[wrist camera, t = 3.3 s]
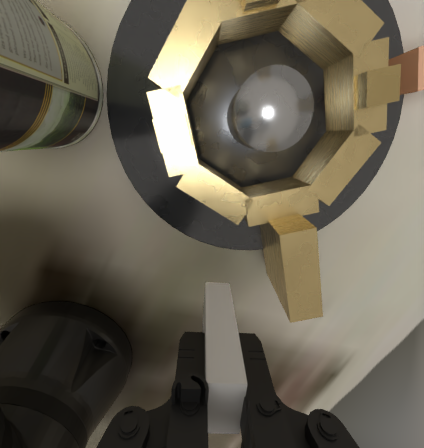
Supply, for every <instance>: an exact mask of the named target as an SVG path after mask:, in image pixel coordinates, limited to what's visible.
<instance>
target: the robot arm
mask: <svg viewBox="0 0 424 448" xmlns="http://www.w3.org/2000/svg"><path fill="white" fill-rule="evenodd" d="M131 363H132V351H131V346H130V343H129V341H128V339H127V337H126V335H125V334H124V332H123V331H122V330H121V329H120V327H119V326H118V325H117V324H116V323H115V322H114V321H112V320H111V319H110V318H108V317H107V316H105V315H104V314H102V313H101V312H99V311H97V310H94V309H92V308H90V307H87V306H84V305H80V304H76V303H71V302H57V301H55V302H44V303H39V304H35V305H32V306H30V307H27V308H25V309H23V310H22V311H20V312H18V313H17V314H16V315H15V316H14V317H12V318H11V319H10V320H9V321H8V322H7V323H6V324H5V325H4V326H3V327H2V328H1V329H0V448H85V447H86V445H87V442H88V439H89V438H90V436H91V434H92V433H93V431H94V430H95V429H96V427H97V426H98V424H99V423H100V421H101V420H102V418H103V417H104V416H105V414H106V413H107V411H108V410H109V408H110V407H111V406H112V404H113V403H114V401H115V400H116V398H117V397H118V395H119V394H120V393H121V391H122V389H123V387H124V385H125V383H126V380H127V377H128V373H129V370H130V367H131ZM240 426H241V434H242V443H241V448H359V446H358V445H357V444H356V442H355V441H354V439H353V438H352V437H351V435H350V434H349V432H348V431H347V430H346V428H345V426H344V425H343V424H342V423H341V421H340V420H339V419H338V418H337V417H336V416H335V415H333V414H332V413H330V412H328V411H326V410H323V409H315V410H313V411H312V412H310V414H309V415H307V414H304V413H301V412H298V411H295V410H293V409H291V408H289V407H287V406H286V405H285V404H283V403H282V401H281V400H280V399H279V398H278V396H277V395H276V393H275V390H274V387H273V383H272V380H271V376H270V373H269V369H268V365H267V362H266V358H265V355H264V351H263V347H262V344H261V341H260V340H259V339H258V337H257V336H256V335H255V334H249V333H238V327H237V321H236V316H235V310H234V304H233V299H232V293H231V287H230V283H217V282H205V294H204V307H203V332H185V333H184V334H183V336H182V337H181V339H180V343H179V352H178V360H177V369H176V377H175V381H174V383H173V386H172V396H171V398H170V399H169V400H168V401H167V402H166V403H165V404H164V405H162V406H160V407H158V408H156V409H153V410H150V411H147V412H146V411H145V410H144V409H142V408H140V407H136V406H131V407H127V408H124V409H123V410H121V411H120V412H119V413H117V414H116V415H115V417H114V418H113V419H112V421H111V422H110V424H109V426H108V428H107V429H106V431H105V433H104V435H103V437H102V439H101V440H100V442H99V444H98V446H97V448H208V433H224V434H239V432H240Z"/></svg>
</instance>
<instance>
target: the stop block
mask: <svg viewBox="0 0 424 448" xmlns="http://www.w3.org/2000/svg"><path fill="white" fill-rule="evenodd" d="M397 64H401V78H400V95H402V94H407V93H412V92H417V91H421V90H424V46H421V47H418V48H416V49H413V50H411V51H408V52H406V53H403V54H401V55H399V56H396V57H394V58H391V59H389V61H388V66H392V65H397Z"/></svg>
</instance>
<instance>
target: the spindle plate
mask: <svg viewBox="0 0 424 448" xmlns="http://www.w3.org/2000/svg"><path fill="white" fill-rule="evenodd" d="M186 1H187V0H131V2H130V4H129V6H128V8H127V10H126V12H125V14H124V16H123V18H122V21H121V23H120V25H119V28H118V31H117V35H116V38H115V41H114V44H113V47H112V52H111V58H110V63H109V68H108V81H107V106H108V117H109V123H110V129H111V134H112V138H113V141H114V144H115V148H116V151H117V154H118V157H119V159H120V161H121V163H122V166H123V168H124V170H125V173H126V174H127V176H128V178H129V179H130V181H131V183H132V184H133V186H134V188H135V189H136V191H137V192H138V193H139V194H140V196H141V197H142V198H143V200H144V201H145V202H146V203H147V204H148V205H149V207H150V208H151V209H152V210H153V211H154V212H155V213H156V214H157V215H158V216H160V217H161V218H162V219H163V220H165V221H166V222H167V223H168V224H170V225H171V226H172V227H174V228H176V229H177V230H179V231H181V232H182V233H184V234H185V235H187V236H190V237H192V238H194V239H196V240H199V241H201V242H204V243H207V244H210V245H214V246H217V247H222V248H228V249H237V250H258V249H263V245H262V238H261V231H260V225H256V226H251V227H248V225H247V223H246V221H245V219H244V218H243V219H242V220H241V222H240V223H239V225H237V224H235V223H234V222H232V221H230V220H229V219H227V218H226V217H224V216H222V215H221V214H219V213H217V212H216V211H214V210H213V209H211V208H209V207H208V206H206V205H205V204H203V203H201V202H200V201H198V200H197V199H195V198H193V197H192V196H190V195H188V194H187V193H185V192H184V191H182V190H180V189H179V188H177V187H176V186H177V184H178V182H179V180H180V178H181V176H182V175H183V174H181V175H176V176H172V177H169V175H168V172H167V168H166V164H165V160H164V156H163V153H161V151H160V147H159V143H158V140H157V136H156V132H155V129H154V125H153V121H152V119H153V115H152V111H151V108H150V104H149V100H148V96H147V93H146V92H150V91H154V90H159V89H158V88H157V87H156V86H155V85H154V84H153V83H152V82H151V81H150V79H149V78H148V76H149V74H150V72H151V70H152V68H153V66H154V64H155V62H156V60H157V58H158V56H159V54H160V52H161V50H162V48H163V46H164V44H165V42H166V40H167V38H168V36H169V34H170V32H171V30H172V29H173V27H174V25H175V23H176V21H177V19H178V17H179V15H180V13H181V11H182V9H183V7H184V5H185V3H186ZM362 1H363V2H364V3H365V4H366V5H367V6H368V7H369V8H370V9H371V10H372V11H373V12H374V13H375V14H376V15H377V16H378V17H379V18H380V19H381V20H382V21H383V22H384V24H383V26H382V27H381V28H380V30H379V31H378V33H377V34H376V35H375V37H374V38H373V39H372V41H373V40H377V39H382V38H386V37H389V59H391V58H394V57H396V56H399V55H401V54H403V47H402V41H401V35H400V31H399V28H398V25H397V21H396V18H395V15H394V12H393V9H392V7H391V5H390V3H389V1H388V0H362ZM403 97H404V94H402V95H400V100H399V101H396V102H391V103H387V127H386V130H384V131H379V132H374V133H371V134H372V135H373V136H374V137H376V138H377V139H378V140H379V141H380V142H381V144H380V145H379V146H378V147H377V149H376V150H375V151H374V152H373V154H372V155H371V156H370V157H369V158H368V160H367V161H366V162H365V163H364V164H363V166H362V167H361V168H360V169H359V171H358V172H357V173H356V174H355V175H354V177H353V178H352V179H351V180H350V181H349V183H348V184H347V185H346V186H345V188H344V189H343V190H342V191H341V192H340V194H339V195H338V196H337V197H336V199H335V200H334V201H333V202H332V203H331V205H330V206H328V205H326V204H324V203H322V202H321V201H319V200H318V201H319V212H318V213H313V214H308V215H304V216H303V217H304V218H305V219H306V220H308V221H309V222H310V223H311V224H313V225H314V226H315V227H316V228H317V231H318V230H320V229H322V228H323V227H325V226H327V225H328V224H329V223H331V222H332V221H333V220H335V219H336V218H338V217H339V216H340V215H341V214H342V213H343V212H345V211H346V210H347V209H348V208H349V207H350V206H351V205H352V204H353V203H354V202H355V201H356V200H357V199H358V197H359V196H360V195H361V194H362V193H363V192H364V191H365V189H366V188H367V187H368V185H369V184H370V182H371V181H372V180H373V178H374V177H375V175H376V174H377V172H378V170H379V168H380V167H381V165H382V163H383V161H384V159H385V158H386V155H387V153H388V151H389V148H390V146H391V144H392V141H393V139H394V136H395V132H396V129H397V126H398V123H399V119H400V114H401V109H402V103H403ZM186 103H187V107H188V112H189V116H190V121H191V125H192V130H193V135H194V139H195V144H196V148H197V153H198V157H199V159H200V160H201V161H203V162H204V163H206V164H207V165H209V166H210V167H212V168H213V169H215V170H216V171H218V172H219V173H221V174H222V175H224V176H225V177H227V178H228V179H230V180H231V181H233V182H234V183H236V184H237V185H239V186H240V187H246V186H250V185H255V184H260V183H264V182H269V181H274V180H279V179H283V178H288V177H292V176H293V175H294V173H295V172H296V171H297V169H298V168H299V167H300V165H301V164H302V163H303V161H304V160H305V159H306V157H307V156H308V155H309V153H310V152H311V151H312V149H313V148H314V147H315V145H316V144H317V143H318V141H319V140H320V139H321V137H322V136H323V135H324V133H325V132H326V118H325V97H324V76H323V69H322V68H320V67H319V66H318V65H317V64H316V63H315V62H313V61H312V60H311V59H310V58H309V57H308V56H306V55H305V54H304V53H303V52H302V51H301V50H300V49H298V48H297V47H296V46H295V45H294V44H293V43H291V42H290V41H289V40H288V39H287V38H286V37H284V36H283V35H282V34H281V33H280V32H279V31H275V32H271V33H267V34H262V35H258V36H254V37H250V38H245V39H241V40H237V41H232V42H228V43H224V44H219V45H217V47H216V49H215V51H214V52H213V54H212V56H211V58H210V60H209V61H208V63H207V65H206V67H205V68H204V70H203V72H202V74H201V75H200V77H199V79H198V81H197V83H196V84H195V86H194V88H193V90H192V91H191V93H190V95H189V97H188V99H187V100H186Z"/></svg>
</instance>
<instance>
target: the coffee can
mask: <svg viewBox="0 0 424 448" xmlns="http://www.w3.org/2000/svg"><path fill="white" fill-rule="evenodd" d="M102 103H103V87H102V80H101V76H100V72H99V69H98V66H97V64H96V61H95V59H94V57H93V55H92V53H91V52H90V50H89V48H88V47H87V45H86V44H85V43H84V41H83V40H82V39H81V38H80V37H79V36H78V34H77V33H76V32H75V31H74V30H72V29H71V28H70V27H69V26H68V25H66V24H65V23H64V22H62V21H61V20H59V19H58V18H56V17H55V16H54V15H53V14H52V13H50V12H49V11H48V10H47V9H46V8H44V7H43V6H42V5H41V4H40V3H38V2H37V1H36V0H0V152H2V151H15V150H28V149H43V148H49V149H56V148H63V147H67V146H70V145H73V144H75V143H77V142H79V141H81V140H82V139H83V138H85V137H86V136H87V135H88V134H89V133H90V132H91V130H92V129H93V128H94V126H95V124H96V122H97V121H98V118H99V115H100V112H101V108H102Z"/></svg>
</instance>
